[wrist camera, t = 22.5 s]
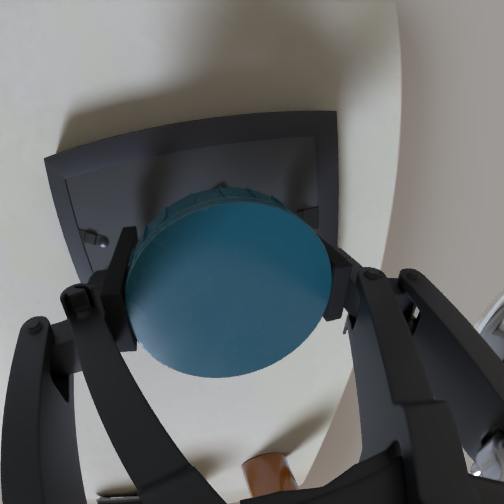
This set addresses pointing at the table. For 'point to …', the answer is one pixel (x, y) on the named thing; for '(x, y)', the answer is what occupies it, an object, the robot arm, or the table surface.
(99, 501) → the camera
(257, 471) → the jar
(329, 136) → the picture frame
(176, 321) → the jar lid
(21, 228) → the table surface
